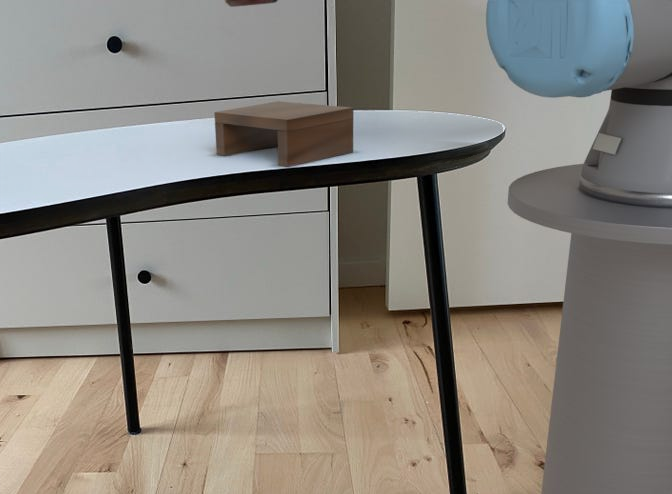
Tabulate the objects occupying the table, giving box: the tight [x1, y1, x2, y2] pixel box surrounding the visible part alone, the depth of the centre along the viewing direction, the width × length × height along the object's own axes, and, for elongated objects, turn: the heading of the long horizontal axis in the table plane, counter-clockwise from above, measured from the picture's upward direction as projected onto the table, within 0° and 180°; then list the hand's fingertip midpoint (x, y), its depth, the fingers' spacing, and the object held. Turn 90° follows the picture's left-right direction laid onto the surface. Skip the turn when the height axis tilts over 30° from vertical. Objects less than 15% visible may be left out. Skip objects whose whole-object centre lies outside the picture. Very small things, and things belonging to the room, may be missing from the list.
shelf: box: [214, 101, 354, 168], centre depth 97 cm, size 13×10×5 cm
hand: (261, 1), depth 105 cm, fingers closed on mug, 7 cm apart
